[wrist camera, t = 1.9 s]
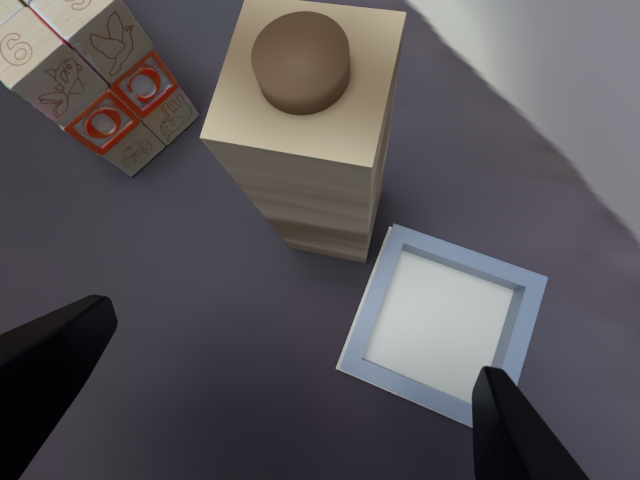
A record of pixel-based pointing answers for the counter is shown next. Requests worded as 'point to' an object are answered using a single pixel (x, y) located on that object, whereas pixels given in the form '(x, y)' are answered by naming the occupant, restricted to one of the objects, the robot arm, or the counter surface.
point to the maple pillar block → (309, 118)
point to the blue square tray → (440, 321)
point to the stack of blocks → (93, 76)
